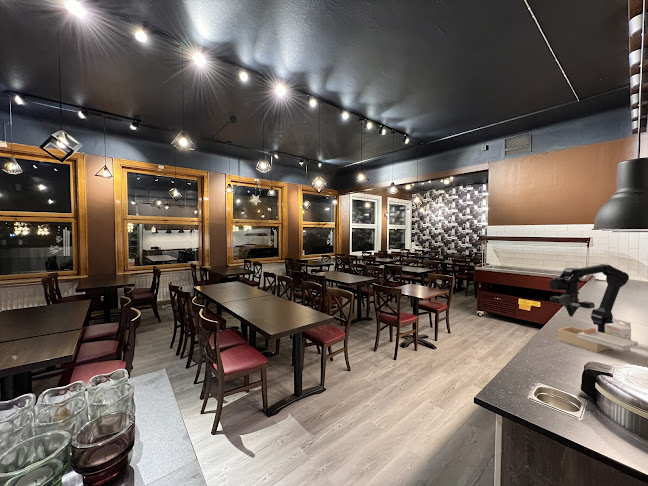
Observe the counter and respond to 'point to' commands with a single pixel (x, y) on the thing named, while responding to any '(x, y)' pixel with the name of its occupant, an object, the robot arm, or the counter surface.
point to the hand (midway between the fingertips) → (571, 316)
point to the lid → (605, 339)
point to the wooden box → (579, 339)
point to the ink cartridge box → (619, 331)
